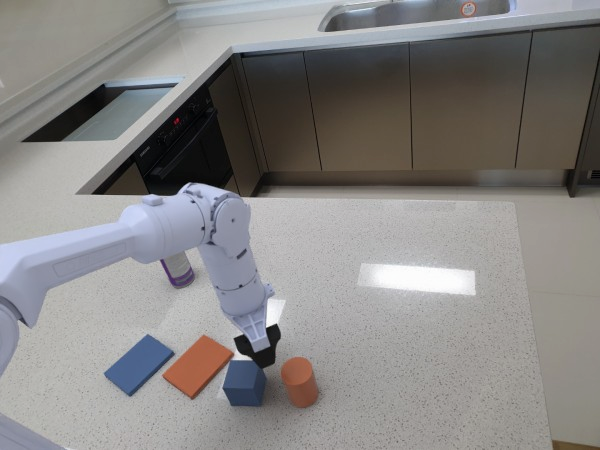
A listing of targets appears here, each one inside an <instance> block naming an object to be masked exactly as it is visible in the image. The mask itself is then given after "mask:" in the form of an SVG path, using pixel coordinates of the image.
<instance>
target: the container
mask: <svg viewBox="0 0 600 450" xmlns="http://www.w3.org/2000/svg"><path fill="white" fill-rule="evenodd" d="M159 263H160V264H161V266H162V268H163V270H164V272H165V274H166V276H167V278H168V281H169V282H170V284H171V286H172V287H173V288H176V289H183V288H186V287H188V286H189V285H191V284H192V283H193V282H194V280H195V278H196V275H195V272H194V269H193V267H192V265H191V263H190V261H189V258H188V256H187V254H186V251H184V252H181V253H178V254H175V255H172V256H170V257H167V258H164V259H161V260H159Z"/></svg>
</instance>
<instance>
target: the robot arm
mask: <svg viewBox="0 0 600 450" xmlns="http://www.w3.org/2000/svg"><path fill="white" fill-rule="evenodd" d="M251 216H252V211H251V205H250V203H246V202H245V201H244V199H243V198H242V196H241V195H239V194H238V193H236V192H233V191H231V190H226V189H222V188H219V187H217V186H216V187H215V186H212V185H208V184H206V183H200V182H199V183H198V182H188V183H186V184H185V185H183V186H182V187H181V188H180V190H178V192H177V193H176V194H174V195H170V196H165V197H162V196H160V195H157V194H153V193H151V194H147V195H143V196H142V197H141V202H139V203H135V204H130V205H128V206H126V207H125V208H124V209H123V211H122V212H121V214H120V216H119V218H118V220H117V221H114V222H110V223H103V224H99V225H94V226H88V227H83V228H78V229H73V230H69V231H68V230H67V231H63V232H58V233H53V234H48V235H42V236H38V237H33V238H27V239H22V240H16V241H13V242H7V243H1V244H0V379H2V377H3V375H4V373H5V371H6V369H7V368H8V366H9V364H10V363H11V361H12V358H13V357H14V355H15V352H16V351H17V350H16V349H17V347H18V344H19V341H20V326H19V322H18V321H20V323H22V324H23V325H24V326H26V327H27V328H28V329H30V330H32V329H33V328H34V327H35V326H36V325H37V323H38V320H39V317H40V314H41V312H42V309H43V306H44V302H45V300H46V296H47V294H48V292H49V291H50V290H52V289H54V288H56V287H60V286H61V285H64V284H66V283H69V282H72V281H75V280H76V279H80V278H82V277H84V276H86V275H89V274H91V273H94V272H97V271H99V270H101V269H104V268H106V267H109V266H112V265H114V264H116V263H119V262H122V261H124V260H126V259H129V258H131V259H132V260H133V261H136V262H137V263H139V264H142V265H149V264H153V263H155V262H158V261H160V260H161V259H164V258H167V257H170V256H172V255H175V254H178V253H181V252H187V251H189V250H193V249H194V248H197V250H198V253H199V255H200V258H201V260H202V263H203V265H204V267H205V270H206V272H207V274H208V277H209V280H210V282H211V285H212V287H213V290H214V292H215V294H216V297H217V299H218V302H219V309H220V311H221V313H222V315H223V316H224V317H225V318H226V319H227V320H228V321H229V322H230V323H231V324H233V326H235V327H236V328H237V330H239V331H240V332H241V334H240V335H238V336H235V337H233V338H232V339H233V342H234V344H235V349H236V350H237V352H238V353H239V354H240V355H241V356H245V357H248V358H250V360H253V361H254V362H255V363H256V365H257V366H258V367H259V368H261V369H263V370H264V369H266V368H268V367H271V366H274V365H275V364H276V360H277V345H278V344H279V341H280V340H281V339H282V332H281V329H280V327H279V325H278V323H274V324H272V325H268V326H267V319H268V318H267V317H268V316H267V315H268V301H269V299H270V298H272V297H274V296H275V295H276V292H275V289H274V287H273V285H272V283H271V282H265V283H263V282H262V279H261V276H260V273H259V272H260V271H259V269H258V266H257V263H256V260H255V257H254V253H253V250H252V247H251V245H250V243H251V241H250V240H251V235H250V231H249V229H250V228H249V227H250V222H251V218H252V217H251ZM0 450H68V449H67V448H65V447H64V446H61V444H58V443H56V442H54V441H52V440H51V439H50V438H47V437H45V436H43V435H42V434H40V433H38V432H36V431H34V430H32V429H31V428H29V427H27V426H25V425H23V424H22V423H20V422H18V421H16V420H15V419H13V418H11V417H9V416H7V415H6V414H4V413H2V412H0Z"/></svg>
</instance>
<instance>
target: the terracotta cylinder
mask: <svg viewBox="0 0 600 450" xmlns="http://www.w3.org/2000/svg"><path fill="white" fill-rule="evenodd" d="M279 374H280V379H281V381H282V383H283V386H284V389H285V392H286V395H287V398H288V401H289V402H290V403H291V405H292V406H294V407H297V408H307V407H310V406H312V405H313V404H314V403H315V402H316V401H317V400H318V396H319V393H320V391H319V387H318V383H317V380H316V375H315V372H314V368H313V364H312V363H311V362H310V360H309V359H308V358H305V357H303V356H294V357H291V358H289V359H287V360H286V361H285V362H284V363H283V364H282V365H281V367H280V373H279Z"/></svg>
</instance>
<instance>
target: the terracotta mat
mask: <svg viewBox="0 0 600 450" xmlns="http://www.w3.org/2000/svg"><path fill="white" fill-rule="evenodd" d="M234 356H235V353H234V352H233V351H232V350H231V349H229V348H228V347H225V346H224V345H222V344H220V343H219V342H217V341H216V340H213V339H212V338H210V337H209V336H208V335H206V334H204V333H203V334H202V335H201V336H200V337H199V338H198V339H197V340H196V341H195V342H194V343H193V344H191V346H190V347H189V348H188V349H187V350H186V351H185V352H184V353H183V354H182V355H180V357H179V358H177V360H176V361H174V362H173V364H172V365H170V367H168V368H167V369H166V370H165V371H164V373H162V374H161V376H162V378H163V379H164V380H166V382H168V383H169V384H171V385H172V386H174V387H175V388H176V389H178V390H179V391H180V392H182V393H183V394H184V395H186V396H187V397H189V399H191V400H194V399H195V398H196V397H197V396H198V394H200V392H202V390H204V388H205V387H206V386H207V385H208V384H209V383H210V382H211V381H212V379H214V377H215V376H216V375H217V374H218V373H219V372H220V371H221V370H222V369H223V368H224V367H225V366H226V365H227V364H228V362H230V360H232V358H233V357H234Z"/></svg>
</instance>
